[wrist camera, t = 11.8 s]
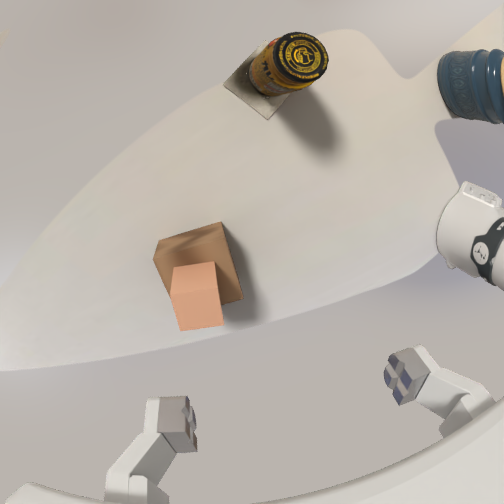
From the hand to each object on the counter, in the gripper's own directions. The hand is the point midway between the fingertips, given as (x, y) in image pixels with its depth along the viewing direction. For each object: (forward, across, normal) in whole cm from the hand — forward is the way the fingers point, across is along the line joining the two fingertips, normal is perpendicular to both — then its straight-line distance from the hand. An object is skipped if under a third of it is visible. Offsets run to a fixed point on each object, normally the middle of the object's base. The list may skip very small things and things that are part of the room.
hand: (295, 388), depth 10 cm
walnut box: (+30, +5, +9) cm, 32 cm away
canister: (+32, -42, -18) cm, 55 cm away
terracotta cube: (+24, +6, +9) cm, 27 cm away
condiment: (+31, -6, -14) cm, 35 cm away
